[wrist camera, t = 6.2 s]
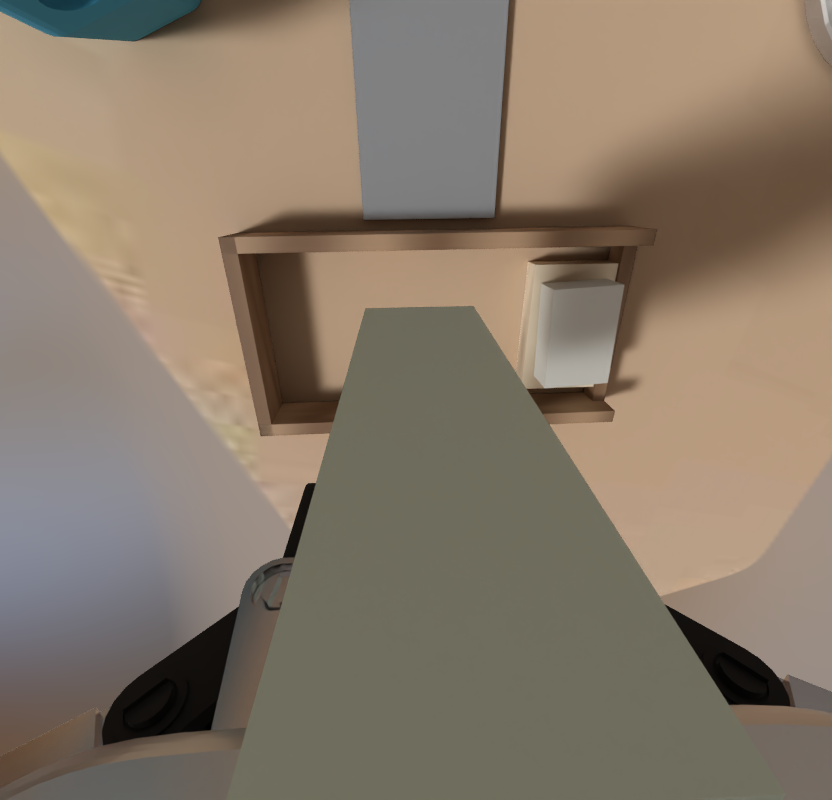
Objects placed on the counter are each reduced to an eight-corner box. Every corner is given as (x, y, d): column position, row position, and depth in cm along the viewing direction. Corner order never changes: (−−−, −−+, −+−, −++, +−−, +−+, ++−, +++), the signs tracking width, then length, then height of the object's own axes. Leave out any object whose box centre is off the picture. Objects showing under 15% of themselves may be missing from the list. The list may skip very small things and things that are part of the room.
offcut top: (606, 278, 24) (624, 284, 23) (592, 370, 27) (607, 382, 25) (541, 283, 24) (553, 290, 22) (533, 375, 27) (544, 388, 25)
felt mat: (509, -43, 19) (512, -48, 18) (492, 217, 24) (494, 217, 23) (347, -45, 18) (346, -50, 18) (364, 219, 23) (363, 219, 23)
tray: (627, 226, 24) (657, 229, 22) (592, 401, 30) (612, 421, 27) (237, 233, 23) (218, 237, 21) (272, 413, 28) (260, 436, 26)
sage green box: (473, 306, 13) (785, 793, 3) (463, 496, 17) (572, 1022, 6) (365, 308, 13) (217, 826, 2) (378, 499, 17) (343, 1038, 6)
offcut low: (602, 258, 26) (618, 263, 24) (580, 375, 29) (593, 386, 27) (525, 260, 25) (535, 264, 24) (512, 377, 29) (520, 389, 27)
